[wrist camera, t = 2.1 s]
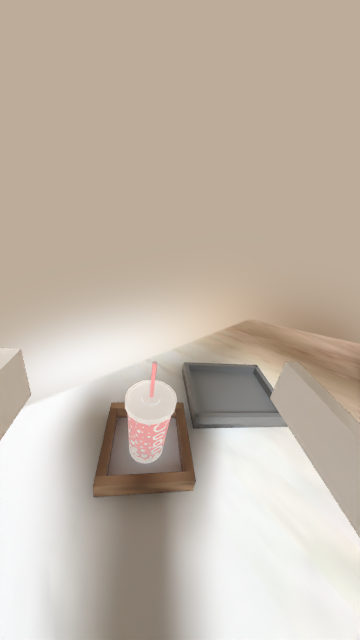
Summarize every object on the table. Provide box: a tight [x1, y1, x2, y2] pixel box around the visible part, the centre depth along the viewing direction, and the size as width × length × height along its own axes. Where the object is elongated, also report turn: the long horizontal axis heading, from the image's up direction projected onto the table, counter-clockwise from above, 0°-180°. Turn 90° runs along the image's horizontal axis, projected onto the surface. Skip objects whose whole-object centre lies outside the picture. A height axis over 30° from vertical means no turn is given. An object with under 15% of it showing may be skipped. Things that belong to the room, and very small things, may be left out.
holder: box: [93, 403, 196, 497], centre depth 28 cm, size 11×11×2 cm
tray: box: [182, 363, 288, 428], centre depth 38 cm, size 16×13×2 cm
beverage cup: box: [125, 362, 177, 464], centre depth 25 cm, size 6×6×14 cm
